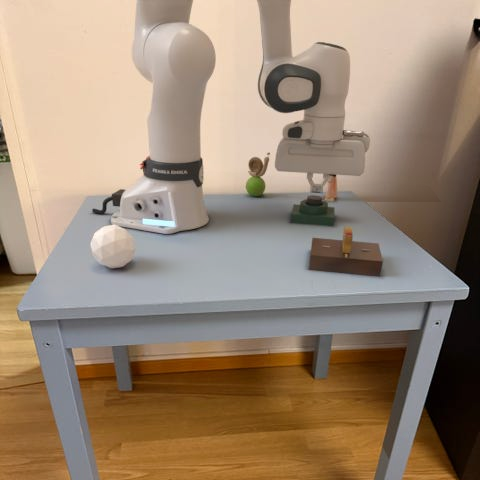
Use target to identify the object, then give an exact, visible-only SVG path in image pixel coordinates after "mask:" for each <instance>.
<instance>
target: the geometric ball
mask: <svg viewBox="0 0 480 480" xmlns="http://www.w3.org/2000/svg"><path fill="white" fill-rule="evenodd" d="M89 244H90V248H91V252H92V253H91V254H92V256H93V257H94V259H95V260H96V261H97V262H98V263H99V265H102V266H103V267H107V268H110V269H111V270H112V269H119V268H123V267H125V266H126V265H127V264H128V263H130V262H131V261H132V260H133V257H134V256H135V252H136V243H135V238H134V237H133V235H131V233H130V232H129V231H128V230H127V229H126V228H125V227H122V226H117V225H112V224H110V225H104V226H102V227H101V228H100V229H98V230H97V231H95V232H94V234H93V235H92V239H91V241H90V243H89Z"/></svg>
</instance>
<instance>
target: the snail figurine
mask: <svg viewBox="0 0 480 480" xmlns="http://www.w3.org/2000/svg"><path fill="white" fill-rule="evenodd" d="M266 155H267V156H265V157H264V158H263V161H262V159H261V158H260V157H258V156H253V157H251V158H250V159H249V160H248V165H247V166H248V169H249V170H248V171H247V173H248V174H249V176H251V177H249V178H248V179H247V181H246V182H245V190H246V192H247V194H248V195H250V196H251V197H260V196H261V195H263V194H264V193H265V190H266V187H267V186H266V181H265V180H264V178H263V176H265V174H266V172H267V170H268V166H269V162H270V155H271V152H270V151H269V152H267V153H266Z"/></svg>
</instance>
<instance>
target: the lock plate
mask: <svg viewBox="0 0 480 480" xmlns="http://www.w3.org/2000/svg"><path fill="white" fill-rule="evenodd" d="M310 246H311V247H310V256H309V263H308V270H312V271H319V272H320V271H321V272H322V271H323V272H332V273H343V274H351V275H352V274H353V275H360V276H361V275H362V276H371V277H372V276H373V277H380V276H381V273H382V267H383V263H384V260H383V257H382V252H381V247H380V243H378V242H369V241H368V242H367V241H355V240H352V244H351V250H350V253H342V239H332V238H322V237H312V238H311V245H310Z"/></svg>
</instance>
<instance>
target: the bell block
mask: <svg viewBox="0 0 480 480" xmlns="http://www.w3.org/2000/svg"><path fill="white" fill-rule="evenodd" d="M290 223H291V224H300V225H312V226H313V225H314V226H326V227H334V223H335V207H334V206H329V203H328V201H325V200H322V205H321V206H311V205H307V199H303V200H301V201H300V203H299V204H295V203H294V204H293V206H292V210H291V214H290Z"/></svg>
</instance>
